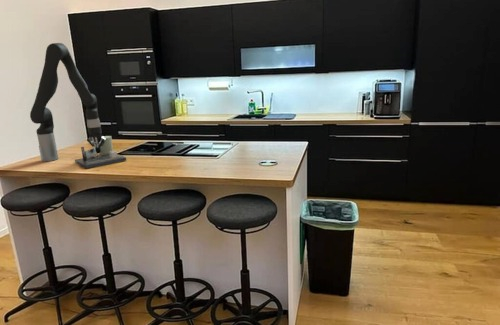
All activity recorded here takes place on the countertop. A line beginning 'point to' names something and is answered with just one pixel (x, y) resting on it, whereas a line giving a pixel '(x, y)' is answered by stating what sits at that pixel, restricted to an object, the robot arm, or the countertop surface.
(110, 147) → the can
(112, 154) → the fader
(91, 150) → the rack door
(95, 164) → the grey holder base
